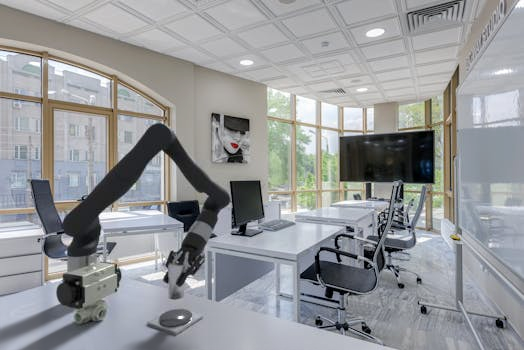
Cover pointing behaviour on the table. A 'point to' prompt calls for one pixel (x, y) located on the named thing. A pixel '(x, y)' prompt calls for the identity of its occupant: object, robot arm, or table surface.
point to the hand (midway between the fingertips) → (171, 283)
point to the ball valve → (89, 290)
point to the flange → (175, 320)
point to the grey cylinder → (173, 276)
